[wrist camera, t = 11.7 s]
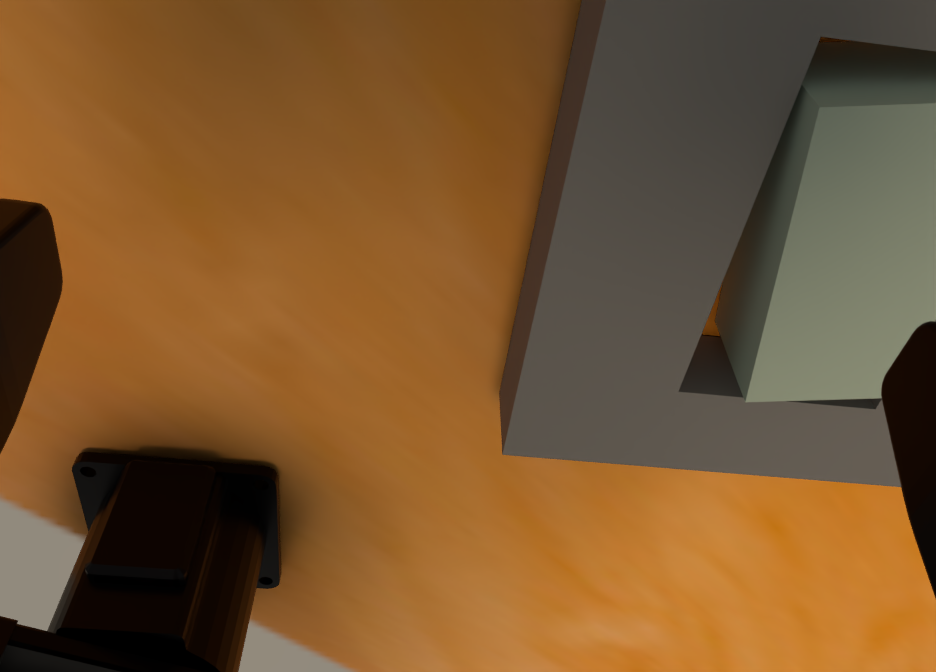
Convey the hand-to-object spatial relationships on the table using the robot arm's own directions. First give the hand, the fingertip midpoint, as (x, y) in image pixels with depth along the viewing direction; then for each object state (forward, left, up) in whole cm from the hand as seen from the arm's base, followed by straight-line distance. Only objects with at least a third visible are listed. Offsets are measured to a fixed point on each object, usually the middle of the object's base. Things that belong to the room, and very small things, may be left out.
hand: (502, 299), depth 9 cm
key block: (-5, -9, -12) cm, 16 cm away
